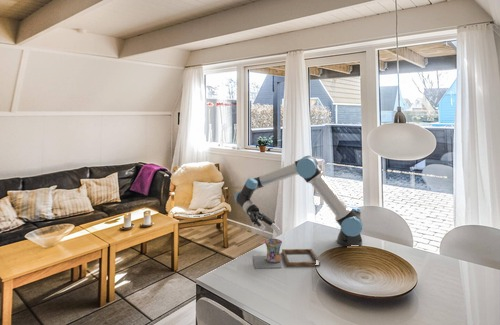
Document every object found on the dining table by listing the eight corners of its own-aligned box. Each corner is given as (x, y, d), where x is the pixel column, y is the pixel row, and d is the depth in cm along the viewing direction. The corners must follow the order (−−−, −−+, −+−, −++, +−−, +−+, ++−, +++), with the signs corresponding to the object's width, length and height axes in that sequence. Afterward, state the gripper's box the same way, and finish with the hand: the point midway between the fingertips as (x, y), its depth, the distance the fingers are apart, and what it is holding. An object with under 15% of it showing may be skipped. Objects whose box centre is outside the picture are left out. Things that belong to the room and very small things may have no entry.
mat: (277, 256, 166) (277, 255, 166) (281, 268, 152) (281, 267, 152) (253, 256, 165) (253, 256, 165) (254, 268, 151) (254, 267, 151)
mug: (283, 263, 156) (284, 244, 155) (266, 264, 155) (267, 245, 153) (277, 253, 168) (277, 236, 167) (261, 255, 166) (262, 237, 165)
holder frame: (311, 252, 172) (311, 248, 172) (319, 266, 155) (320, 262, 154) (281, 252, 171) (282, 249, 171) (287, 266, 154) (287, 263, 153)
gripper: (260, 216, 193) (280, 237, 179) (234, 211, 176) (254, 233, 161) (266, 207, 192) (287, 227, 178) (240, 201, 174) (261, 222, 160)
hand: (271, 230), depth 169 cm, fingers open, 13 cm apart
